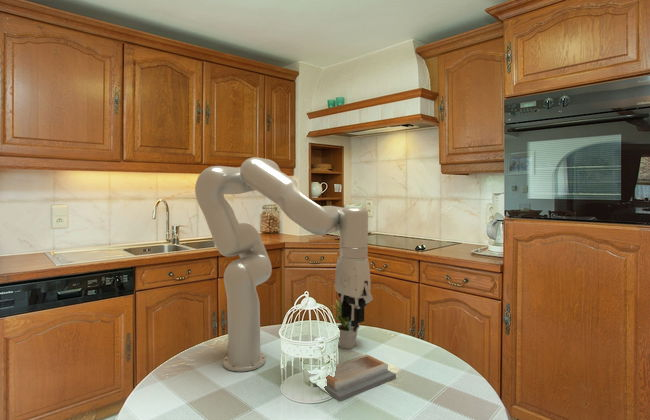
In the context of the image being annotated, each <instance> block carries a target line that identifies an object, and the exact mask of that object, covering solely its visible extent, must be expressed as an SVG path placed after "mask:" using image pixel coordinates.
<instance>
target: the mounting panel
mask: <svg viewBox="0 0 650 420" xmlns="http://www.w3.org/2000/svg"><path fill="white" fill-rule="evenodd" d="M395 379H397V373H395V372H394V371H391V370H389V369H388V372H387V373H385V374H382V375H380V376H377V377H375V378H372V379H370V380H367V381H365V382H362V383H360V384H357V385H355V386H352V387H350V388H347V389H344V390H342V391H339V392H337V391H335V390H333V389H332V388H330V387H329V386H325V387H324V388H325V390H326V391H327V392H328V393H329V394H330V395H329V394H328V393H327V394H328V395H329V396H331V397H333V398H334V399H335V400H337V401H338V402H342V401H346V400H348V399H349V398H352V397H354V396H357V395H359V394H361V393H363V392H366V391H369V390H372V389H374V388H376V387H378V386H381V385H383V384H385V383H388V382H390V381H393V380H395Z"/></svg>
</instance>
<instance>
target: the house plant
mask: <svg viewBox="0 0 650 420" xmlns="http://www.w3.org/2000/svg"><path fill="white" fill-rule="evenodd" d="M334 301H335V303H336V305H337V307H336V306H334V305H333V304H331V306H332V308H333V309H334V310H335V311H336V312H337V314H335V316H334V315H332V316H333V318H332V319H334V320H335V319H336V320H338V321H339V322H340V324H338V325H337V326H338V328H339V330H340V337H339V338H338V344H339V347H340V348H342V349H353V348H355V347H356V342H357V336H358V330H359V329H358V327H357V329H356V331H355V332H350V331H349V328H348V322H349V319H348V318H349V317H346V318H342V317H341V307H342V303H341V302H339V301H338V299H334ZM365 320H366V319H364V322H366V321H365Z"/></svg>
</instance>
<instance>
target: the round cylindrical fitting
mask: <svg viewBox="0 0 650 420" xmlns="http://www.w3.org/2000/svg"><path fill="white" fill-rule="evenodd" d="M345 298H346V301H347V303H349V304H350V305H352V307H351V312H350V314H349V318H348V319H349V322H348V328H349V331H350V332H355V331H356V329H357V327H358V330H360V323H361V322H360V323H354V308H356V305H355V298H352V297H349V296H345ZM361 300H362V299H361V298H360V299H359V302H360V301H361Z"/></svg>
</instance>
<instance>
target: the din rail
mask: <svg viewBox="0 0 650 420" xmlns="http://www.w3.org/2000/svg"><path fill="white" fill-rule="evenodd" d="M335 365H336V364H335ZM388 370H389V364H388V363H386V362H384V361H381V360H380V359H377V358H375V357H374V356H371V355H369V354H367V353H365V354H362V355H360V356H357V357H354V358H351V359H350V358H349V359H347V360H345V361H342V362H339V363H337V365H336V371H335V376H334V377H332V376H330V375H328V376H327V377H326V379H327V386H329V387H330V388H332V389H333V390H335V391H337V392H339V391H342V390H344V389H347V388H350V387H352V386H355V385H357V384H360V383H362V382H365V381H367V380H370V379H372V378H375V377H377V376H380V375H382V374H385V373H387V372H388Z"/></svg>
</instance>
